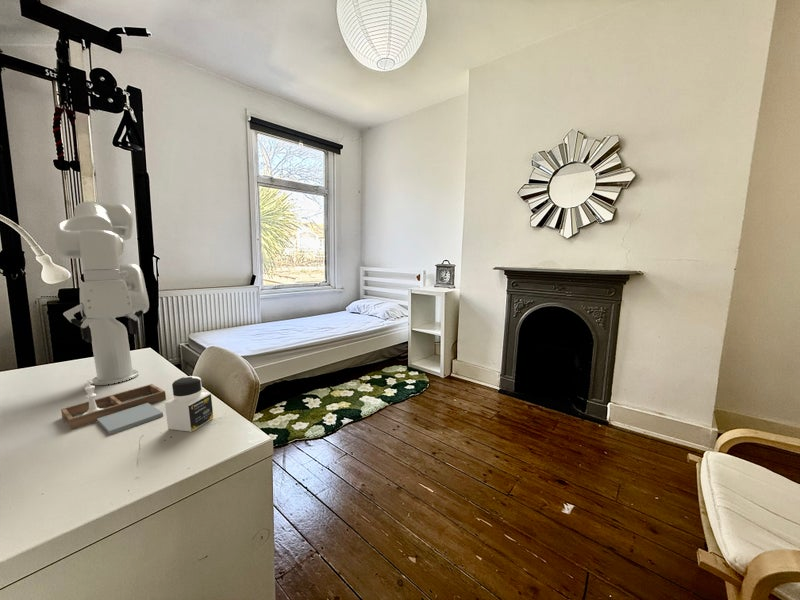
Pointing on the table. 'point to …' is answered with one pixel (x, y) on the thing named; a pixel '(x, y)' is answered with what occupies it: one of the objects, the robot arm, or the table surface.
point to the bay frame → (111, 400)
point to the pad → (129, 418)
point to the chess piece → (91, 397)
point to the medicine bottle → (188, 405)
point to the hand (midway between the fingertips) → (112, 337)
